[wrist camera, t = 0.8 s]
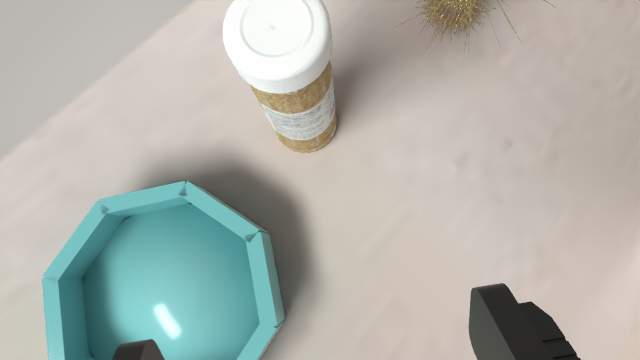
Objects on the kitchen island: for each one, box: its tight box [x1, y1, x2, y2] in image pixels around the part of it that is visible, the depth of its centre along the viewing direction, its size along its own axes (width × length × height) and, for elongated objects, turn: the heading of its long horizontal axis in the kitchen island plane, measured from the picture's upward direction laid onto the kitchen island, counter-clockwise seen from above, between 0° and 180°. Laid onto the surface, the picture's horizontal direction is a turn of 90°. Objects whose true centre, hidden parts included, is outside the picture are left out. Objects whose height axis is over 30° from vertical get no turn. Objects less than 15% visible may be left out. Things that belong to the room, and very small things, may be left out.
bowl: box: [42, 181, 285, 360], centre depth 27 cm, size 14×14×3 cm
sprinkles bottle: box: [223, 0, 337, 153], centre depth 24 cm, size 5×5×13 cm
